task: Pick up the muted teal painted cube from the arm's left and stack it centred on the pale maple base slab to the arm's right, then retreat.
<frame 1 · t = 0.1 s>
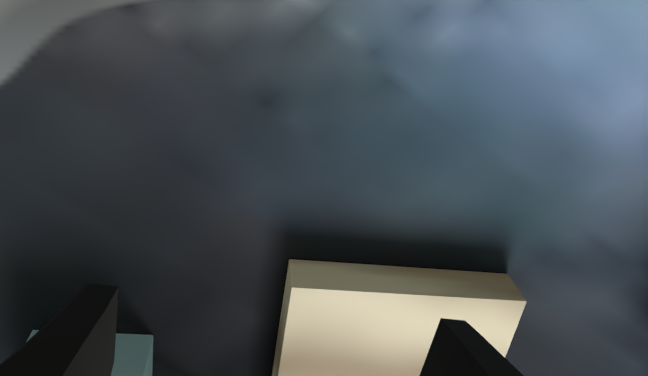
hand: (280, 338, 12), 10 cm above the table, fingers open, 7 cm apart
teal cube: (96, 373, 25), on the table
maple base: (379, 353, 26), on the table
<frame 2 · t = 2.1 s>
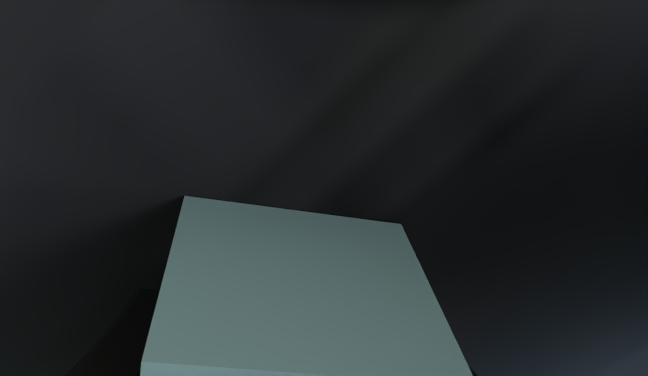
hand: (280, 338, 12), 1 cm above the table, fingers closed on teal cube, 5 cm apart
teal cube: (278, 298, 13), on the table, touching gripper
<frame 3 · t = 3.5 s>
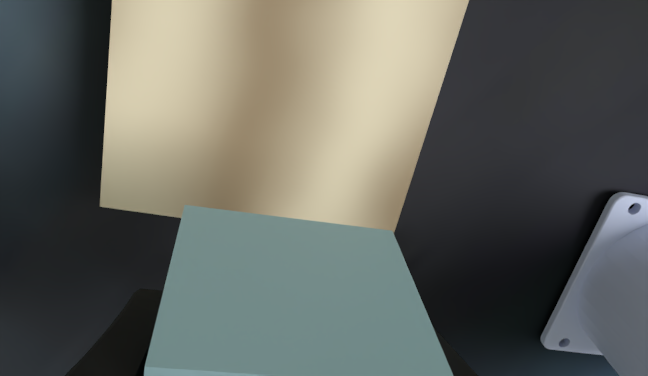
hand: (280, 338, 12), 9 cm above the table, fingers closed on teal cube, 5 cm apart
teal cube: (274, 301, 14), point 7 cm above the table, touching gripper
maple base: (277, 72, 18), on the table
when the fingers open (4 cm above the table, at t = 5.1 s): teal cube stays where it is, resting on maple base.
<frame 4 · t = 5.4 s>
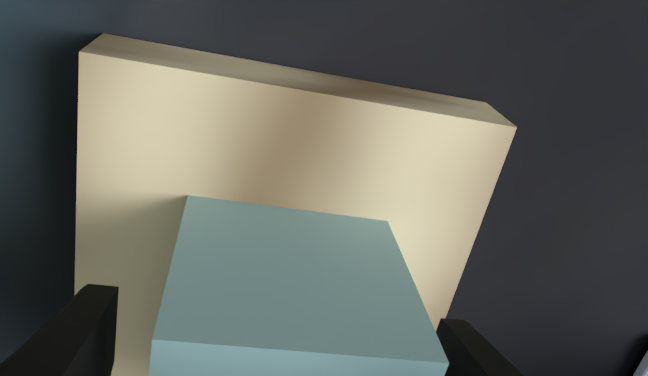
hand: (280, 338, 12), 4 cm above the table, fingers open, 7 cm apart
teal cube: (274, 290, 14), point 2 cm above the table, touching maple base
maple base: (274, 235, 16), on the table
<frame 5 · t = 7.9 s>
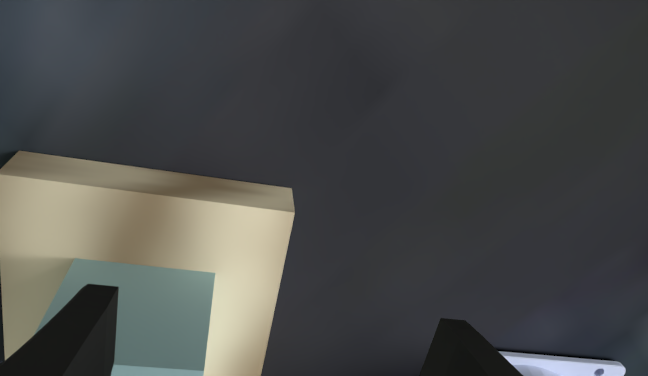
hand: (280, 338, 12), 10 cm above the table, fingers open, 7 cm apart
teal cube: (142, 319, 21), point 2 cm above the table, touching maple base
maple base: (151, 278, 23), on the table
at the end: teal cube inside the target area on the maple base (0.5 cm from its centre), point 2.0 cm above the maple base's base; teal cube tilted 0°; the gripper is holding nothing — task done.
